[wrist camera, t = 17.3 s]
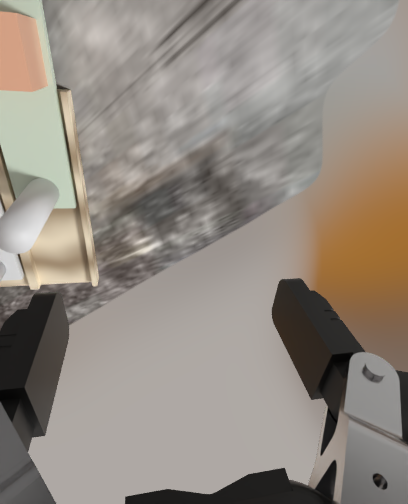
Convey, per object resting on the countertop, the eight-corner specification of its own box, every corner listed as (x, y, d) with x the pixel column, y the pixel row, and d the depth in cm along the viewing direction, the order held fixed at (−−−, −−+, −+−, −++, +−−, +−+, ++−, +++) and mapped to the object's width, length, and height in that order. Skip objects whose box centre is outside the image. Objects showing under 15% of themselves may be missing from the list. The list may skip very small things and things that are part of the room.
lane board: (-115, 79, 28) (-131, 81, 26) (70, 89, 31) (66, 92, 29) (-26, 283, 41) (-33, 293, 39) (98, 277, 44) (97, 286, 42)
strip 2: (-44, -27, 24) (-153, -74, 15) (38, -18, 25) (-18, -56, 16) (21, 205, 35) (-20, 259, 26) (76, 204, 36) (55, 256, 27)
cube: (-31, 12, 25) (-65, 4, 21) (35, 18, 26) (15, 12, 22) (-12, 82, 27) (-38, 88, 23) (48, 85, 28) (32, 91, 24)
